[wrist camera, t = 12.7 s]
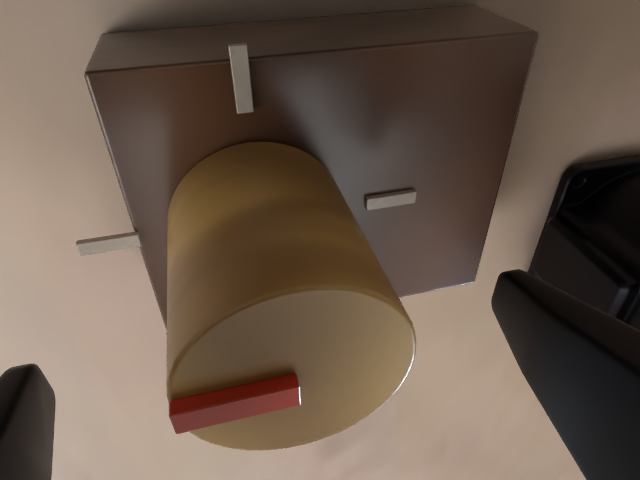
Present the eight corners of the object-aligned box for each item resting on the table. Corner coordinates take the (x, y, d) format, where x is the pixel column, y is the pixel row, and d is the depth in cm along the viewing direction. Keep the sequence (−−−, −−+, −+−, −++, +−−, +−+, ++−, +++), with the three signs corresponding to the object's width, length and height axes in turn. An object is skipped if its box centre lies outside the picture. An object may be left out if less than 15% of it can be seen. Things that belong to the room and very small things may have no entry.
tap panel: (478, -8, 13) (549, 19, 11) (435, 237, 18) (476, 293, 16) (36, 23, 11) (-1, 66, 8) (133, 290, 16) (126, 363, 14)
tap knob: (341, 129, 11) (442, 276, 7) (339, 269, 14) (410, 434, 10) (147, 153, 10) (133, 336, 6) (186, 296, 13) (194, 489, 9)
